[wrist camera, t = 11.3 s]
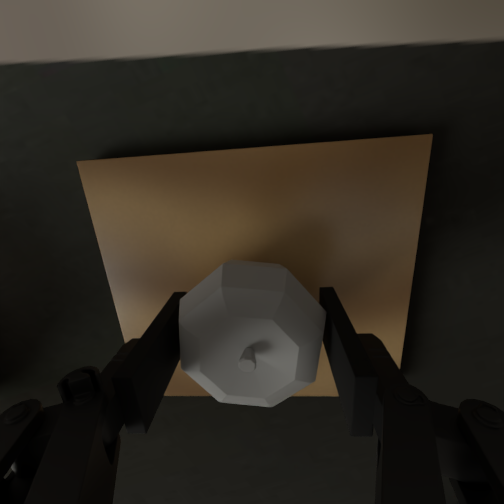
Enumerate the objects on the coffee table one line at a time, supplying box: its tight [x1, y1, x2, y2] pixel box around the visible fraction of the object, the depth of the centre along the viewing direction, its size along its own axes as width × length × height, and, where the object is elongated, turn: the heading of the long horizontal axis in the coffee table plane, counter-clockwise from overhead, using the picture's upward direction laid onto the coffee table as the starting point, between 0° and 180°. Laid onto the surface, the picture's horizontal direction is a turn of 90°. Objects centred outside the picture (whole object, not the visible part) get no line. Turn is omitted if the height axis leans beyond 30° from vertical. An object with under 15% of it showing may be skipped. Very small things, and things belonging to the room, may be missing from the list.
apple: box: [179, 260, 327, 407], centre depth 14 cm, size 8×8×7 cm
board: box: [77, 134, 433, 396], centre depth 18 cm, size 18×20×2 cm
